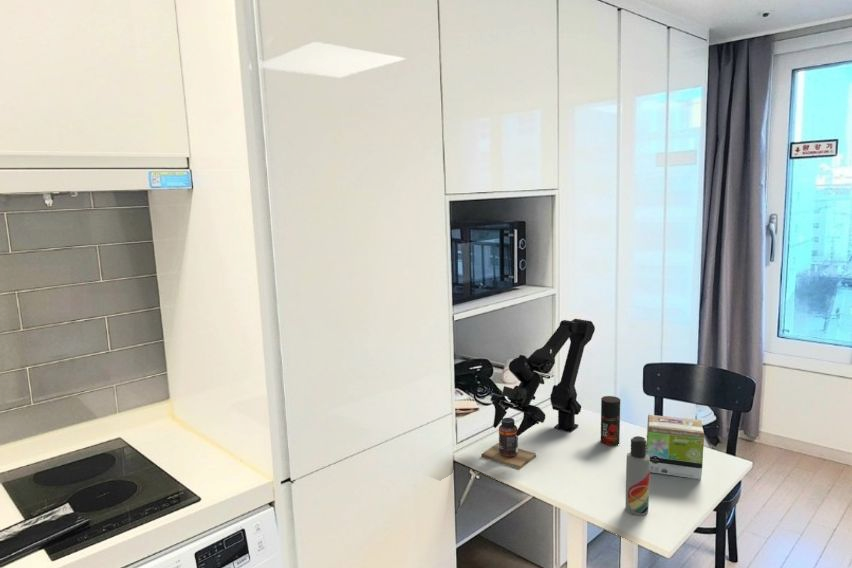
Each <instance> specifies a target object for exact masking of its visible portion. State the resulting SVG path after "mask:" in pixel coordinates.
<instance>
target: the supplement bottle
mask: <svg viewBox="0 0 852 568" xmlns="http://www.w3.org/2000/svg"><path fill="white" fill-rule="evenodd" d="M517 430H518V427H517V425H516V424H515V419H514V418H512V417H503V419H502V420H501V425H500V424H499V426H498V443H499V453H500V454H501V455H502V456H505V457H513V456H516V455H517V454H518V449H519V438H518V437H519V436H517V435H516V433H517Z"/></svg>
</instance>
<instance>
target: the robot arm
mask: <svg viewBox="0 0 852 568" xmlns="http://www.w3.org/2000/svg"><path fill="white" fill-rule="evenodd" d="M595 329H596V327H595V325H594V323H593V321H591V320H586V319H580V318H573V319H572V320H567V319H563V320H561V321H560V322H559V326H557V328H556V330H555V331H554V332H553V334H552V335H551V336H550V337H549V339H548V340H547V342H546V343H545V344H544V345H543V346H542V347H540V348H537V349H536V350H534V352H532V353H531V354H530V355H529V357H527V356H526V355H523V354H519V356H518V357H515V358H514V359H511V361H509V364H508V370H509V372H510V373H511V374H512V375H513V376H514V377H515V378H516V380H518V381H519V384H518V385H515V386H514V387H513V388H512V387H508V386H505V385H503V387H502V392H501V394H497V393H494V394H492V395H491V397H490V399H489V401H490V402H491V404H492V405H493V406H494V417H493V426H492V427H494V429H496V428H497V427H499V426H500V423H502V419H503V418H505V416H506V415H507V413H508V410H509V409H512V410H515V411H517V412H521V413H523V417H522V420H521V422H520V425H519V426H518V427H517V429H518V430H517V433H516V435H517V436H518V437H520V436H521V435H522V434H523V433H525V432H526V431H528V430H529V429H530V428H532V427H533V426H535V425H539V424H540V423H542V424H543V423H544V422H545V420H546V413H545V412H544V411H543V410H542V409H541V408H540V406H537V405H532V404H531V402H532V400H533V401H535V400H536V396H535V395H536V393H537V390H538V389H539V386H540V384H541V385H545V380H544V374H545V375H546V374H547V375H548V374H550V373H551V371H552V369H553V367H554V365H556V357H557V355H558V353H560V350H562V348H563V346H564V345H565V344H566V343H567V341H568V340H569V341H570V344H569V347H568V351H567V355H566V358H565V362H564V367H563V370H562V375H561V378H560V382H558V383H557V384H554V385H553V386H552V389H551V393H550V398H549V399H550V403H551V407H552V408H551V409H552V410H555V411H557V424H555V426H553V428H554V429H557V430H561V431H565V432H568V433H572V432H574V431H575V429H577V428H579V424H576V422H575V420H576V419H575V418H576V415H577V416H578V415H580V413H581V410H582V405H581V403H579V401H578V400H577V396H578V392H577V390H576V387H575V385H576V381H577V377H578V374H579V369H580V366H581V361H582V358H583V353H584V349H585V346H586V345H588V343H589V342H591V340H592V338H593V335H594V333H595V331H596V330H595ZM540 373H541V374H543V375H541V374H540ZM506 397H507V398H506Z"/></svg>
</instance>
